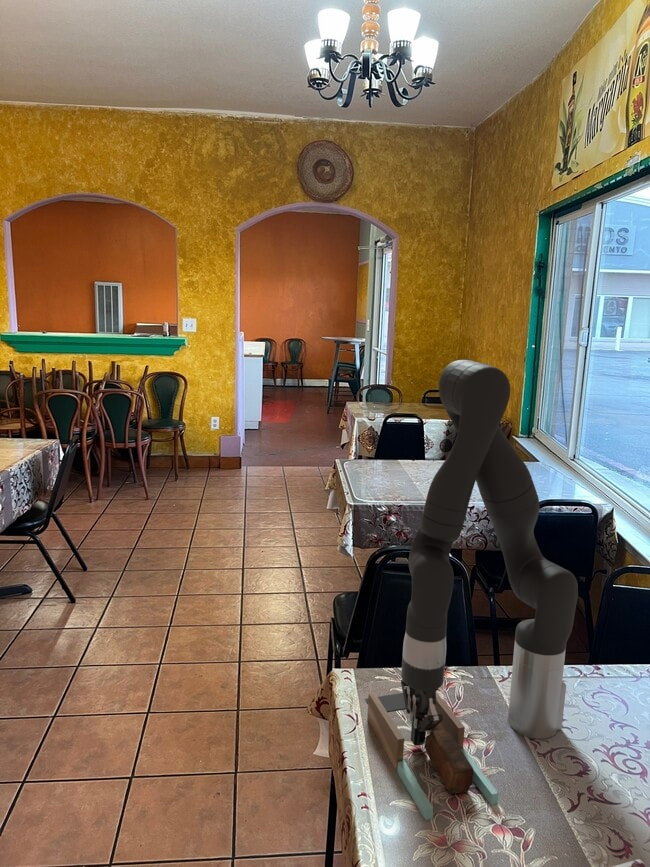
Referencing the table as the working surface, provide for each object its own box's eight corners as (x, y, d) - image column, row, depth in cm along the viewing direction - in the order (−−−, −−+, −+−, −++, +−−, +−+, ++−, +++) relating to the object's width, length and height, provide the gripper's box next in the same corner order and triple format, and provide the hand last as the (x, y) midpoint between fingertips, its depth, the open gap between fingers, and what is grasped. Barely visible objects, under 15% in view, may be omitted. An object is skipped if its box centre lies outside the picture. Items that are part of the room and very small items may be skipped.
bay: (463, 758, 115) (464, 748, 114) (497, 803, 104) (498, 793, 104) (397, 772, 111) (397, 762, 110) (425, 820, 100) (426, 809, 100)
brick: (471, 793, 106) (475, 769, 105) (449, 795, 105) (453, 771, 104) (443, 747, 116) (447, 725, 115) (423, 750, 115) (426, 727, 114)
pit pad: (409, 692, 134) (409, 691, 134) (420, 706, 129) (420, 705, 129) (364, 700, 131) (364, 698, 131) (373, 714, 126) (373, 713, 126)
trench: (427, 710, 128) (429, 683, 127) (462, 756, 115) (464, 727, 114) (367, 721, 124) (368, 693, 123) (396, 770, 111) (397, 739, 110)
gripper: (461, 673, 108) (453, 763, 112) (426, 635, 121) (420, 717, 124) (420, 679, 106) (414, 771, 110) (390, 639, 119) (384, 723, 122)
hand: (417, 742), depth 117 cm, fingers closed
